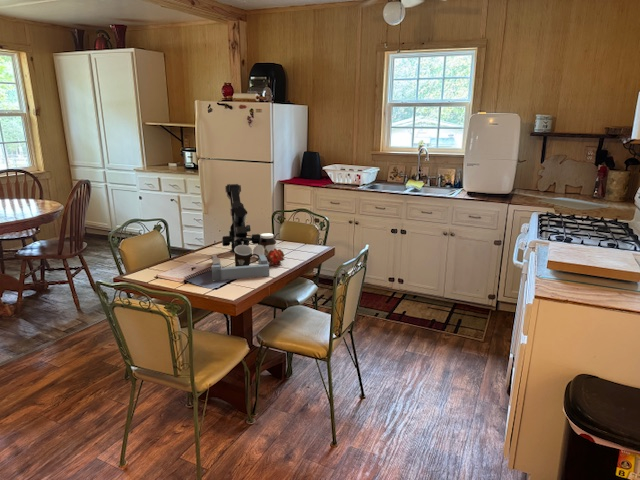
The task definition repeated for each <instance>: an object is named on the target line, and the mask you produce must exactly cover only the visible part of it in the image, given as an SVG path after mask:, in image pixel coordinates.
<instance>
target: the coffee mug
mask: <svg viewBox="0 0 640 480" xmlns="http://www.w3.org/2000/svg"><path fill="white" fill-rule="evenodd" d="M233 254H234V263H235V264H234V265H235V266H234V267H237V266H249V265H252V264H253V263H256V262H258V260H259V255H257V254H253V248H252V247H250V245H249V246H247V245H238V246H236V247H235V248H234V252H233ZM254 255H256V256H258V258H256V260H254V261H251V259H252V257H254Z"/></svg>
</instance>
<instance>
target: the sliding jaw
mask: <svg viewBox="0 0 640 480" xmlns="http://www.w3.org/2000/svg"><path fill="white" fill-rule="evenodd" d="M210 257H211V260H212V265H221V266H222V262H221V258H219V257H218V256H217V253H216V254H212V255H211V256H210Z"/></svg>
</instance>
